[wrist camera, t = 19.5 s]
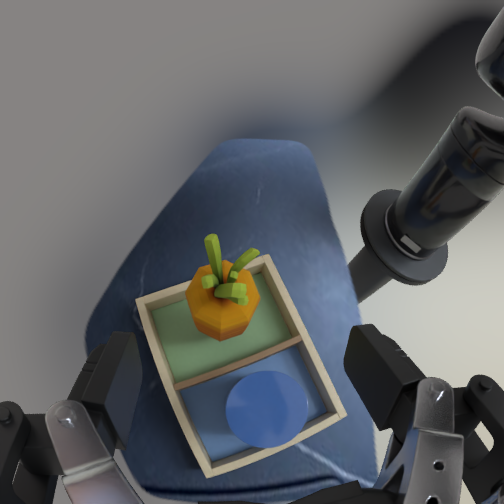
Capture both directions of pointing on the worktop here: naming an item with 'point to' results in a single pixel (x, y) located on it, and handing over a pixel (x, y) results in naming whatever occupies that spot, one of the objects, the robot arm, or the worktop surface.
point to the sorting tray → (234, 367)
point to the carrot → (223, 293)
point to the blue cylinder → (266, 409)
